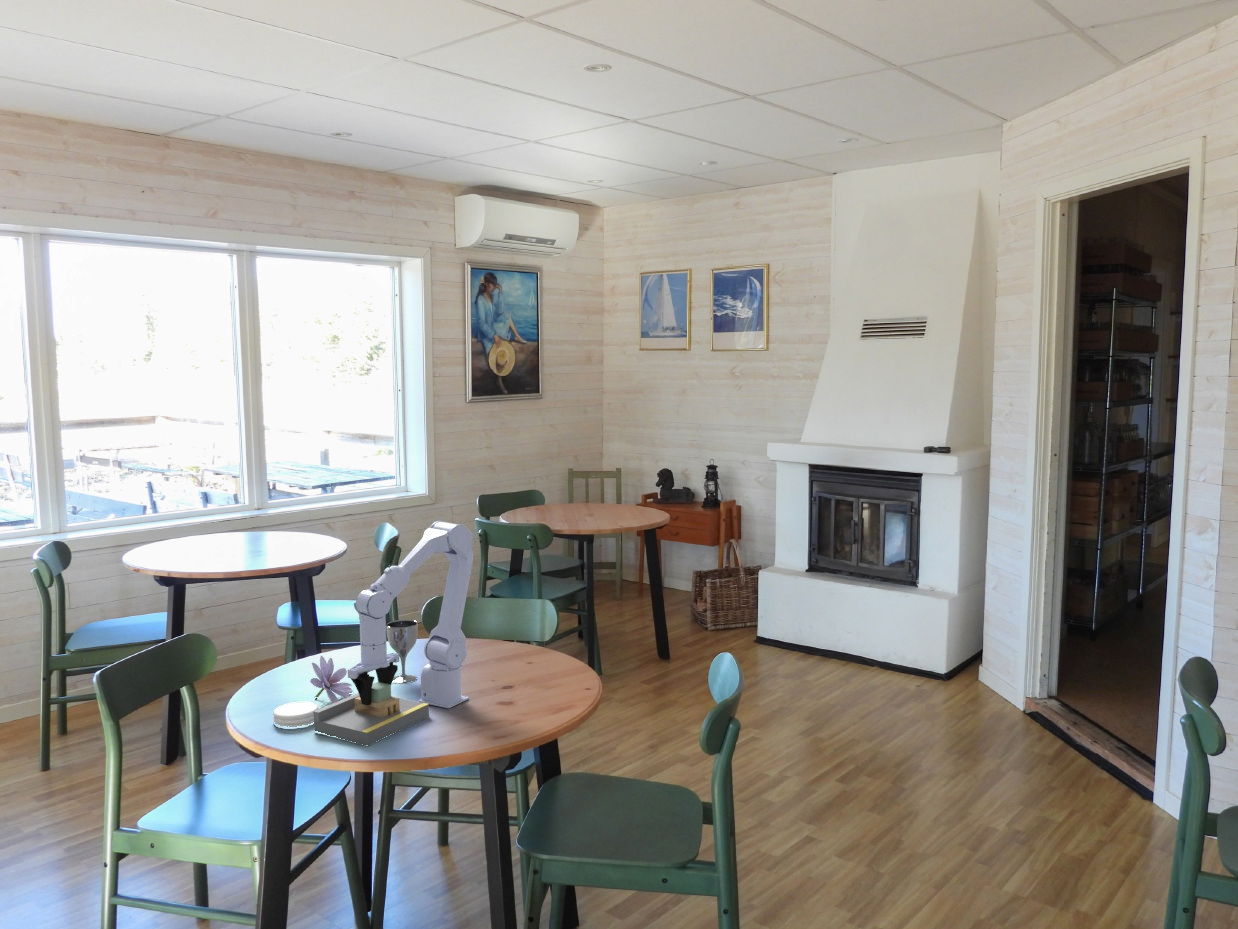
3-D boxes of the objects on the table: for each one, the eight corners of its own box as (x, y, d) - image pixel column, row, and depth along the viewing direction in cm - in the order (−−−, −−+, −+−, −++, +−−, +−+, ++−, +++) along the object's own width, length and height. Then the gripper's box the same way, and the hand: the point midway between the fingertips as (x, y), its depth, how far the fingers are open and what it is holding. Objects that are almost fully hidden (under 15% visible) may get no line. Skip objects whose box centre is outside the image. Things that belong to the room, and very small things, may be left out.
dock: (314, 733, 210) (313, 711, 210) (377, 705, 227) (377, 685, 227) (367, 746, 202) (366, 724, 202) (429, 716, 220) (428, 696, 219)
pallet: (354, 711, 215) (354, 698, 215) (370, 704, 220) (370, 692, 219) (384, 717, 211) (383, 704, 211) (399, 710, 215) (399, 698, 215)
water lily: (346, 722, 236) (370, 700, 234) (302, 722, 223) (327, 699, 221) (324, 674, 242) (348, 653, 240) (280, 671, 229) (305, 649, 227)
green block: (365, 699, 214) (365, 687, 214) (378, 694, 218) (377, 681, 217) (378, 702, 212) (378, 689, 212) (391, 697, 216) (390, 684, 215)
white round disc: (266, 723, 217) (265, 708, 217) (307, 712, 224) (306, 697, 224) (285, 734, 210) (284, 719, 210) (327, 722, 217) (326, 708, 217)
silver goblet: (421, 682, 245) (420, 625, 243) (390, 685, 242) (388, 628, 240) (416, 673, 252) (414, 618, 251) (386, 676, 249) (384, 621, 248)
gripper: (363, 653, 206) (365, 713, 207) (408, 637, 218) (410, 693, 220) (339, 648, 209) (342, 708, 210) (385, 633, 222) (387, 689, 223)
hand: (375, 700), depth 215 cm, fingers open, 5 cm apart
